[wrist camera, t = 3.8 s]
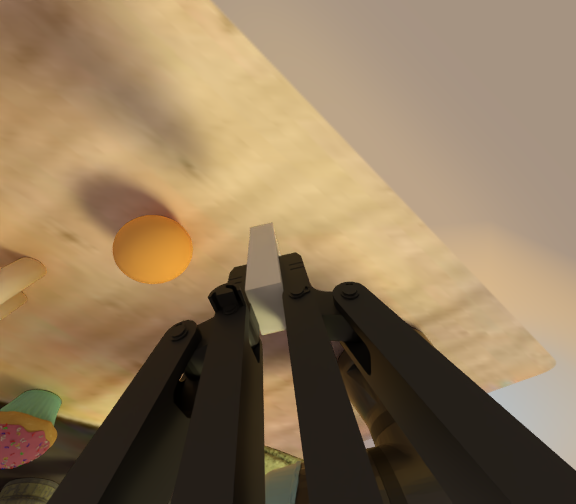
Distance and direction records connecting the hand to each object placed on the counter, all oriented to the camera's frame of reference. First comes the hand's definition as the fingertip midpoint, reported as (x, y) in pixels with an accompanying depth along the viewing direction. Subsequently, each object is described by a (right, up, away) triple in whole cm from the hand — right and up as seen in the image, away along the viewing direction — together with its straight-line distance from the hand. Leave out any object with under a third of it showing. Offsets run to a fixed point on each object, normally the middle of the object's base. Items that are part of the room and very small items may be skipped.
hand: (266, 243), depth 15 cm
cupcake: (-33, -21, +17) cm, 43 cm away
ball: (-10, 0, +5) cm, 11 cm away
